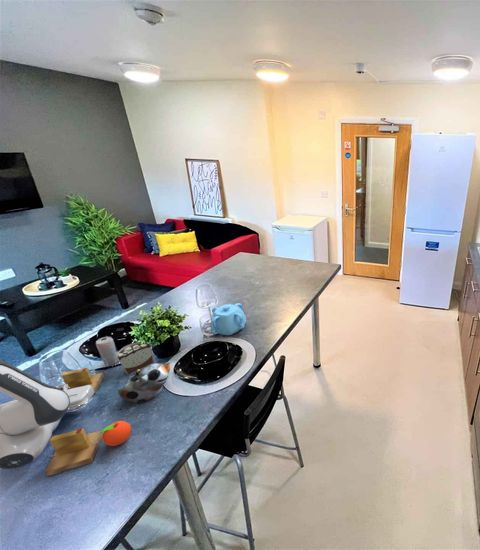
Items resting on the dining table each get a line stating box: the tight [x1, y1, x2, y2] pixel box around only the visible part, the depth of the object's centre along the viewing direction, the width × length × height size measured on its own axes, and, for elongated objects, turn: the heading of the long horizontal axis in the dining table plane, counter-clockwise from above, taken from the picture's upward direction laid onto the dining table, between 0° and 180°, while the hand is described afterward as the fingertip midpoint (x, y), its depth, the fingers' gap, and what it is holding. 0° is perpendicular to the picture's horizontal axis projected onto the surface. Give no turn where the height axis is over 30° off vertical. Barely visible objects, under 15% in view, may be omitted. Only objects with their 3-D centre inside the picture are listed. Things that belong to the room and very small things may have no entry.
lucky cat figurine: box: [117, 361, 171, 404], centre depth 108 cm, size 15×12×14 cm
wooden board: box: [44, 429, 104, 477], centre depth 87 cm, size 11×10×2 cm
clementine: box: [97, 420, 132, 447], centre depth 90 cm, size 8×7×7 cm
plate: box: [67, 372, 105, 396], centre depth 110 cm, size 11×10×2 cm
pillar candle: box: [95, 336, 120, 367], centre depth 121 cm, size 5×5×12 cm
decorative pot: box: [210, 302, 247, 336], centre depth 146 cm, size 16×16×14 cm
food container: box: [116, 341, 155, 376], centre depth 120 cm, size 12×6×10 cm, turn 144°
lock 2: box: [61, 367, 94, 389], centre depth 108 cm, size 7×2×7 cm, turn 115°
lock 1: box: [49, 428, 91, 456], centre depth 85 cm, size 7×2×7 cm, turn 115°
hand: (62, 386), depth 103 cm, fingers closed
